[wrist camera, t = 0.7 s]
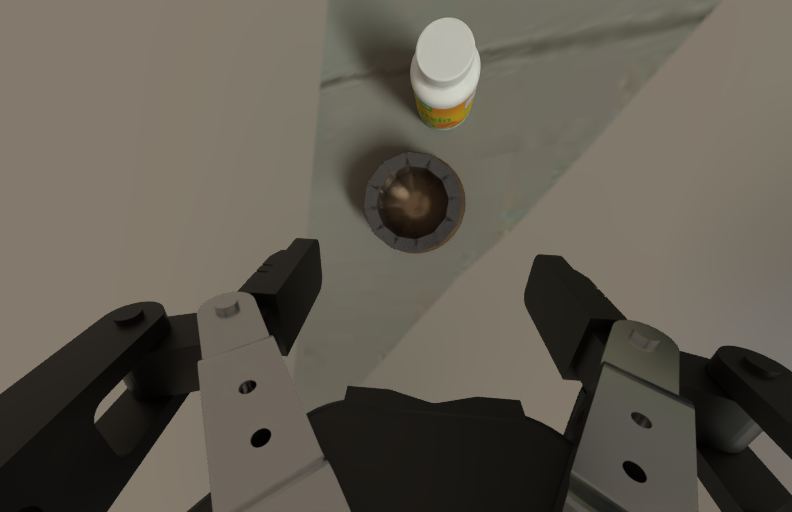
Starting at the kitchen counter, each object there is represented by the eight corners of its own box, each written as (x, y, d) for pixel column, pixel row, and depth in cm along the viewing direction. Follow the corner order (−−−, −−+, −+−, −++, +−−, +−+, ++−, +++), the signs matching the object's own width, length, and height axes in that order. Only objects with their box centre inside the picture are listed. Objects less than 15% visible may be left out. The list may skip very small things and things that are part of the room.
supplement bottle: (408, 119, 30) (392, 75, 21) (430, 65, 29) (424, -7, 20) (457, 139, 30) (464, 103, 20) (481, 85, 29) (500, 20, 19)
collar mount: (408, 135, 30) (403, 123, 26) (485, 196, 30) (491, 193, 26) (351, 212, 32) (338, 212, 29) (423, 270, 32) (420, 278, 28)
